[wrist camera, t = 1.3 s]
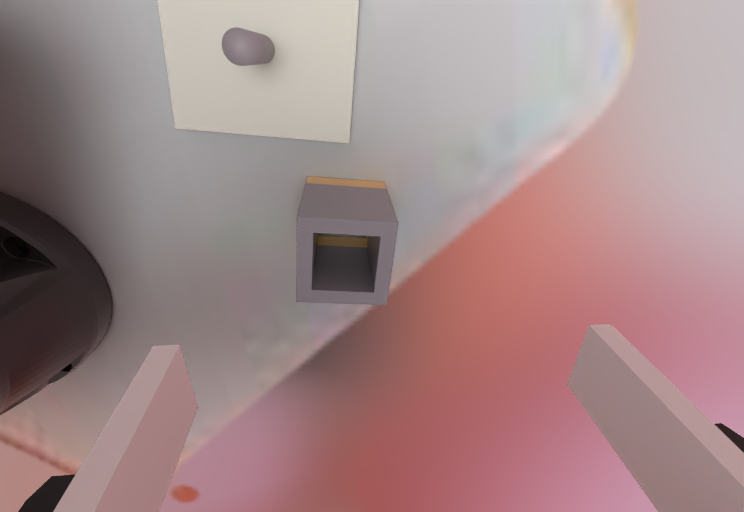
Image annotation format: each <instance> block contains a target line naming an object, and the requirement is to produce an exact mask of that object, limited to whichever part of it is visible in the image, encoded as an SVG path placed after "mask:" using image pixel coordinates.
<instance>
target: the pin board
mask: <svg viewBox="0 0 744 512" xmlns="http://www.w3.org/2000/svg"><path fill="white" fill-rule="evenodd" d="M157 2H158V9H159V17H160V24H161V31H162V38H163V45H164V53H165V60H166V67H167V74H168V81H169V88H170V96H171V103H172V110H173V117H174V124H175V129H187V130H199V131H210V132H222V133H234V134H246V135H257V136H269V137H281V138H293V139H304V140H316V141H328V142H340V143H349V141H350V127H351V112H352V97H353V83H354V68H355V53H356V39H357V24H358V10H359V0H157Z"/></svg>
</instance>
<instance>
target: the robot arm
mask: <svg viewBox="0 0 744 512" xmlns="http://www.w3.org/2000/svg"><path fill="white" fill-rule="evenodd" d="M111 314H112V304H111V297H110V292H109V289H108V286H107V283H106V281H105V278H104V276H103V274H102V272H101V270H100V269H99V267H98V265H97V264H96V262H95V261H94V259H93V258H92V257H91V255H90V254H89V253H88V252H87V250H86V249H85V248H84V247H83V246H82V245H81V244H80V243H79V242H78V241H77V240H76V239H75V238H74V237H73V236H72V235H71V234H70V233H69V232H67V231H66V230H65V229H64V228H63V227H61V226H60V225H59V224H57V223H56V222H55V221H53V220H52V219H50V218H49V217H47V216H46V215H44V214H43V213H41V212H39V211H38V210H36V209H34V208H32V207H31V206H29V205H27V204H25V203H23V202H21V201H18V200H16V199H14V198H12V197H9V196H7V195H4V194H1V193H0V415H2V414H3V413H5V412H6V411H8V410H10V409H11V408H13V407H15V406H16V405H18V404H20V403H21V402H23V401H25V400H26V399H28V398H29V397H31V396H32V395H34V394H36V393H37V392H38V391H40V390H41V389H43V388H44V387H45V386H47V385H48V384H50V383H53V382H55V381H57V380H59V379H61V378H62V377H64V376H66V375H67V374H69V373H70V372H72V371H73V370H74V369H76V368H77V367H78V366H79V365H80V364H81V363H82V362H83V361H84V360H85V359H86V358H87V357H88V356H89V354H90V353H91V352H92V351H93V350H94V349H95V347H96V346H97V345H98V344H99V343H100V341H101V340H102V339H103V337H104V336H105V334H106V332H107V330H108V328H109V324H110V320H111ZM567 385H568V386H569V387H570V389H571V390H572V392H573V393H574V395H575V396H576V397H577V399H578V400H579V401H580V403H581V404H582V406H583V407H584V408H585V410H586V411H587V413H588V414H589V416H590V417H591V418H592V420H593V421H594V423H595V424H596V425H597V427H598V428H599V429H600V431H601V432H602V434H603V435H604V436H605V438H606V439H607V441H608V442H609V444H610V445H611V446H612V448H613V449H614V450H615V452H616V453H617V455H618V456H619V457H620V459H621V460H622V462H623V463H624V464H625V466H626V467H627V469H628V470H629V471H630V473H631V474H632V476H633V477H634V478H635V480H636V481H637V483H638V484H639V485H640V487H641V488H642V490H643V491H644V492H645V494H646V495H647V497H648V498H649V499H650V501H651V502H652V503H653V505H654V506H655V508H656V509H657V510H658V512H744V438H743V437H741V436H740V435H738V434H737V433H735V432H734V431H732V430H731V429H729V428H728V427H726V426H724V425H723V424H721V423H720V424H713V423H712V422H711V421H710V420H709V419H708V418H707V417H706V416H705V415H704V414H703V413H702V412H701V411H700V410H699V409H698V408H697V407H696V406H695V405H694V404H693V403H692V402H691V401H689V399H688V398H687V397H685V396H684V395H683V394H682V393H681V392H680V391H679V390H678V389H677V388H676V387H675V386H674V385H673V384H672V383H671V382H670V381H669V380H668V379H667V378H666V377H665V376H664V375H663V374H662V373H661V372H660V371H659V370H658V369H656V368H655V367H654V366H653V365H652V364H651V363H650V362H649V361H648V360H647V359H646V358H645V357H644V356H643V355H642V354H641V353H640V352H639V351H638V350H637V349H636V348H635V347H634V346H633V345H632V344H631V343H630V342H629V341H628V340H627V339H625V338H624V337H623V336H622V335H621V334H620V333H619V332H618V331H617V330H616V329H615V328H614V327H613V326H612V325H611V324H606V325H589V328H588V330H587V333H586V336H585V338H584V341H583V344H582V346H581V349H580V351H579V354H578V357H577V360H576V362H575V365H574V367H573V370H572V373H571V375H570V378H569V381H568V383H567ZM197 409H198V406H197V403H196V399H195V396H194V392H193V389H192V385H191V382H190V378H189V375H188V371H187V368H186V364H185V361H184V357H183V354H182V350H181V347H180V345H159V346H153V347H152V348H151V350H150V352H149V353H148V355H147V357H146V358H145V360H144V362H143V363H142V365H141V367H140V368H139V370H138V372H137V373H136V375H135V377H134V378H133V380H132V382H131V383H130V385H129V387H128V388H127V390H126V392H125V393H124V395H123V397H122V398H121V400H120V402H119V403H118V405H117V407H116V408H115V410H114V412H113V413H112V415H111V416H110V418H109V420H108V421H107V423H106V425H105V426H104V428H103V430H102V431H101V433H100V435H99V436H98V438H97V440H96V441H95V443H94V445H93V446H92V448H91V450H90V451H89V453H88V455H87V456H86V458H85V460H84V461H83V463H82V465H81V466H80V468H79V470H78V471H77V473H76V475H64V476H52V477H51V478H50V479H48V480H47V482H45V483H44V484H43V485H42V486H41V487H40V488H39V489H38V490H37V491H36V492H35V493H34V494H33V495H32V496H30V498H28V499H27V500H26V501H25V503H24V504H23V506H22V507H21V509H20V510H19V512H159V511H160V508H161V506H162V503H163V500H164V498H165V495H166V492H167V489H168V487H169V484H170V481H171V479H172V476H173V473H174V471H175V468H176V465H177V463H178V460H179V457H180V455H181V452H182V449H183V446H184V444H185V441H186V438H187V436H188V433H189V430H190V428H191V425H192V422H193V419H194V417H195V414H196V411H197Z"/></svg>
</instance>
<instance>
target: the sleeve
mask: <svg viewBox="0 0 744 512" xmlns="http://www.w3.org/2000/svg"><path fill="white" fill-rule="evenodd" d="M397 229H398V221H397V218H396V215H395V212H394V209H393V206H392V203H391V201H390V198H389V195H388V192H387V189H386V186H385V183H384V182H379V181H366V180H353V179H339V178H326V177H312V176H308V178H307V181H306V185H305V189H304V192H303V196H302V200H301V203H300V207H299V211H298V214H297V285H296V302H317V303H343V304H370V305H387V300H388V293H389V286H390V278H391V271H392V264H393V257H394V250H395V243H396V236H397ZM318 233H328V234H345V235H362V236H366V238H353V237H335V236H318Z"/></svg>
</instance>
